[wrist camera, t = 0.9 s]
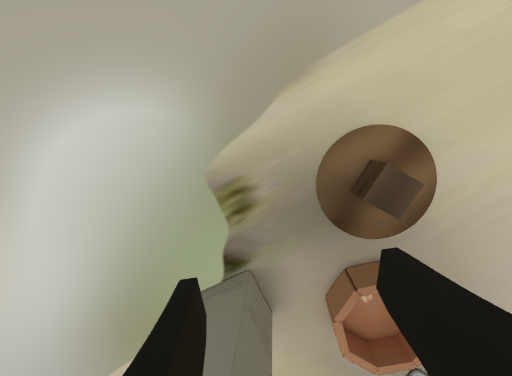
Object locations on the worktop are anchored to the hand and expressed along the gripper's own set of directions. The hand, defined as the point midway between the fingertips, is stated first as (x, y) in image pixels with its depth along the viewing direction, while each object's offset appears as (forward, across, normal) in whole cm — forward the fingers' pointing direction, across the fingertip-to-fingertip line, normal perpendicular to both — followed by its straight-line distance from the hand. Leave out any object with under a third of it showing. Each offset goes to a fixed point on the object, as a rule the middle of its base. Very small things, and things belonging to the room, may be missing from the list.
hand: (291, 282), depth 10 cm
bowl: (+11, -11, +17) cm, 23 cm away
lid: (+15, -12, +4) cm, 20 cm away
